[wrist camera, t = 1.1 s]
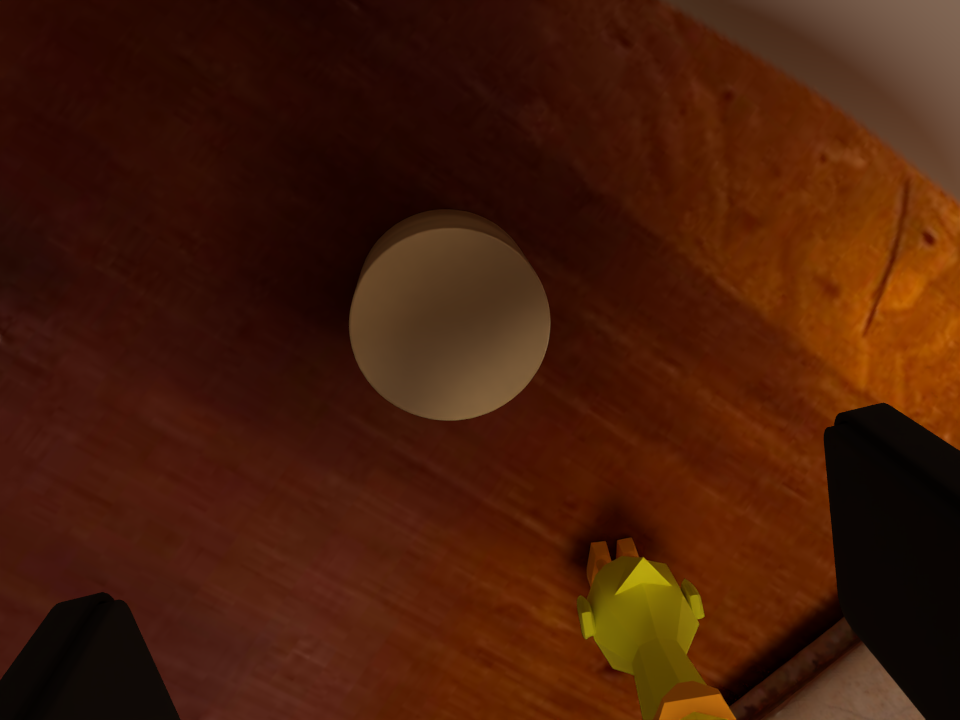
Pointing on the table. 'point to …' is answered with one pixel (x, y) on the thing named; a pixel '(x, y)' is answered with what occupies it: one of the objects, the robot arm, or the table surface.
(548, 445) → the table surface
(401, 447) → the table surface
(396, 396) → the cylinder
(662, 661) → the toy figure
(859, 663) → the case
